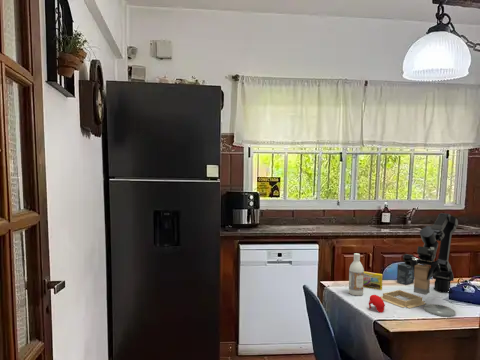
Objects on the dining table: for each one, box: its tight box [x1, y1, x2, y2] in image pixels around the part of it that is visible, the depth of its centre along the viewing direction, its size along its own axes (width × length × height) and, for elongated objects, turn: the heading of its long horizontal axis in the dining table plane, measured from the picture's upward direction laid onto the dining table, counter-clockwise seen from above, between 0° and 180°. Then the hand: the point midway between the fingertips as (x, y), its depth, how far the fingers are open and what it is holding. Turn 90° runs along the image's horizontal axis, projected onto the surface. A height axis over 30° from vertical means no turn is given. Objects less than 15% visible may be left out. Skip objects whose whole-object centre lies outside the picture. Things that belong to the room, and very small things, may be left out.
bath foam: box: [348, 252, 365, 297], centre depth 178 cm, size 7×7×20 cm
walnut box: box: [413, 263, 431, 296], centre depth 161 cm, size 5×5×12 cm
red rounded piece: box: [368, 294, 386, 314], centre depth 157 cm, size 8×6×6 cm
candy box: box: [363, 270, 384, 291], centre depth 189 cm, size 16×2×8 cm, turn 58°
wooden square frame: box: [379, 289, 427, 309], centre depth 169 cm, size 16×16×2 cm
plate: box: [423, 303, 457, 318], centre depth 156 cm, size 12×12×1 cm
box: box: [396, 262, 414, 286], centre depth 198 cm, size 8×6×11 cm
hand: (421, 278), depth 160 cm, fingers closed on walnut box, 5 cm apart
